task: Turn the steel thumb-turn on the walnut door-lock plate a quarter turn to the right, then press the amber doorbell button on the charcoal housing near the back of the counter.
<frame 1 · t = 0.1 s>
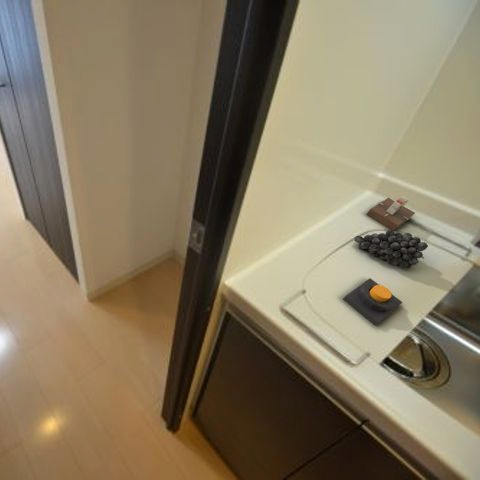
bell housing: (368, 303, 77), on the countertop
bell button: (380, 293, 74), point 4 cm above the countertop, slide at 0.1 cm
lock plate: (386, 218, 97), on the countertop
fruit: (379, 254, 88), on the countertop
lock knob: (397, 205, 94), point 5 cm above the countertop, hinge at 0.0°
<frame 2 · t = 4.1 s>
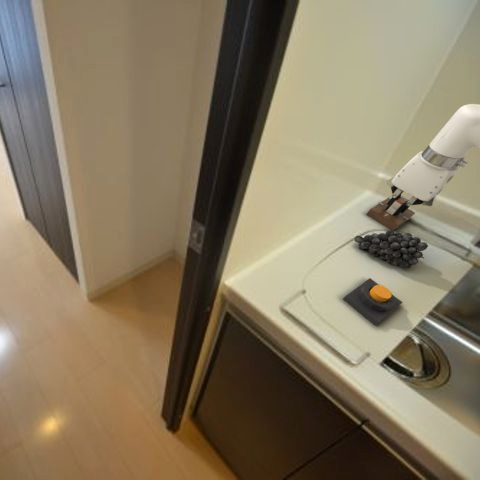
hand: (393, 210, 95), 3 cm above the countertop, tool pointing down, fingers closed on lock knob, 2 cm apart
lock knob: (397, 205, 94), point 5 cm above the countertop, hinge at 0.0°, touching gripper
everything else where it was.
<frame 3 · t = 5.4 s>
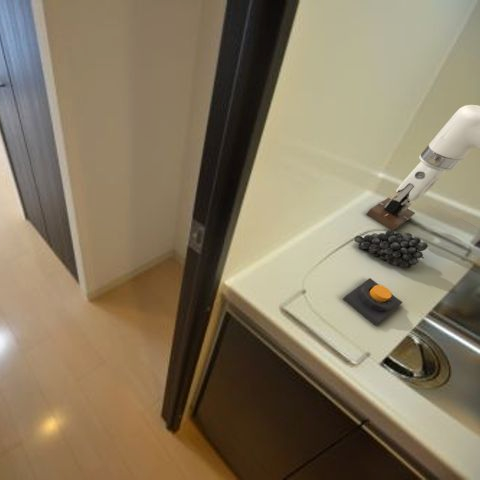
hand: (392, 210, 95), 3 cm above the countertop, tool pointing down, fingers closed on lock plate, 2 cm apart
lock knob: (397, 205, 94), point 5 cm above the countertop, hinge at -89.4°
everything else where it was.
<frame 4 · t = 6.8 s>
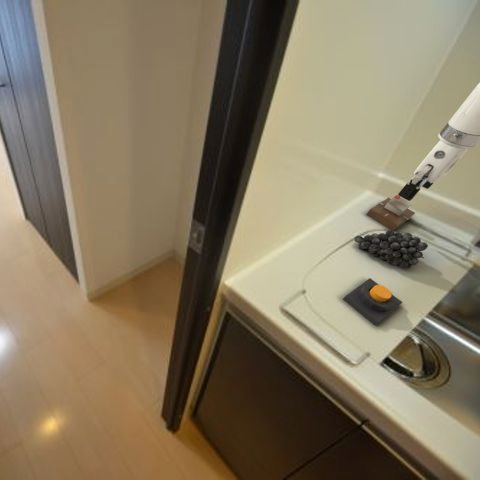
hand: (413, 191, 89), 11 cm above the countertop, tool pointing down, fingers open, 9 cm apart
nothing on the countertop moved.
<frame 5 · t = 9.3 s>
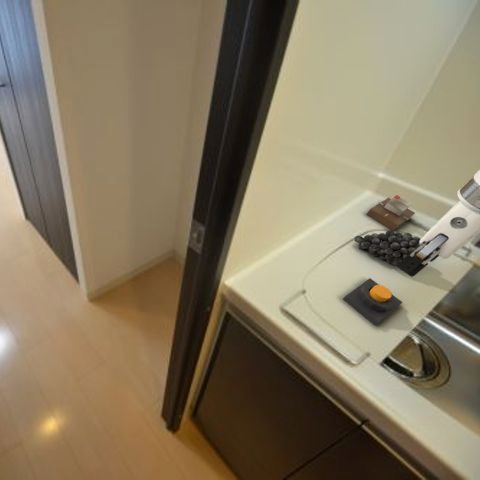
hand: (414, 263, 65), 16 cm above the countertop, tool pointing down, fingers open, 6 cm apart
nothing on the countertop moved.
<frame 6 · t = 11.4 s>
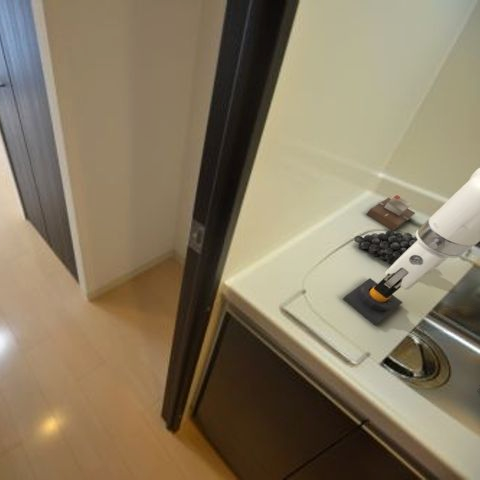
hand: (381, 291, 73), 5 cm above the countertop, tool pointing down, fingers closed
bell button: (379, 293, 74), point 4 cm above the countertop, slide at 0.0 cm, touching gripper
everything else where it was.
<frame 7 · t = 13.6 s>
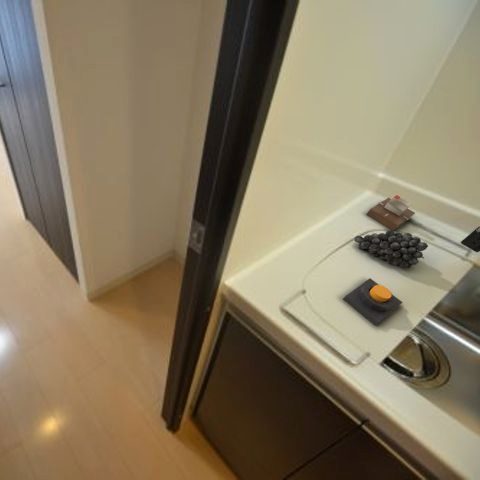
hand: (470, 246, 66), 18 cm above the countertop, tool pointing down, fingers closed
bell button: (380, 293, 74), point 4 cm above the countertop, slide at 0.1 cm
everything else where it was.
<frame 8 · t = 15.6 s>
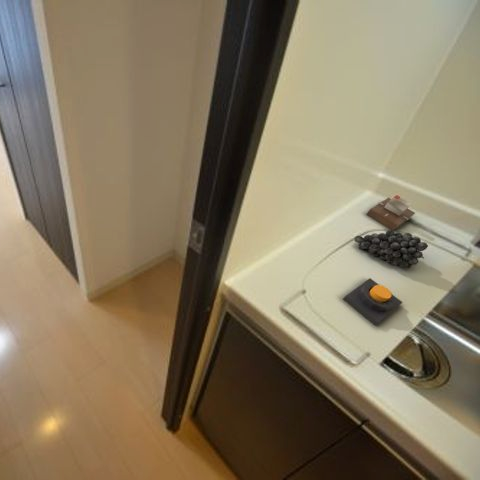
nothing on the countertop moved.
at the end: lock knob at -89° (first picture: +0°); bell button pushed in 1.1 cm at the most during the clip, back to where it started at the end; bell button slide at 0.1 cm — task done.
